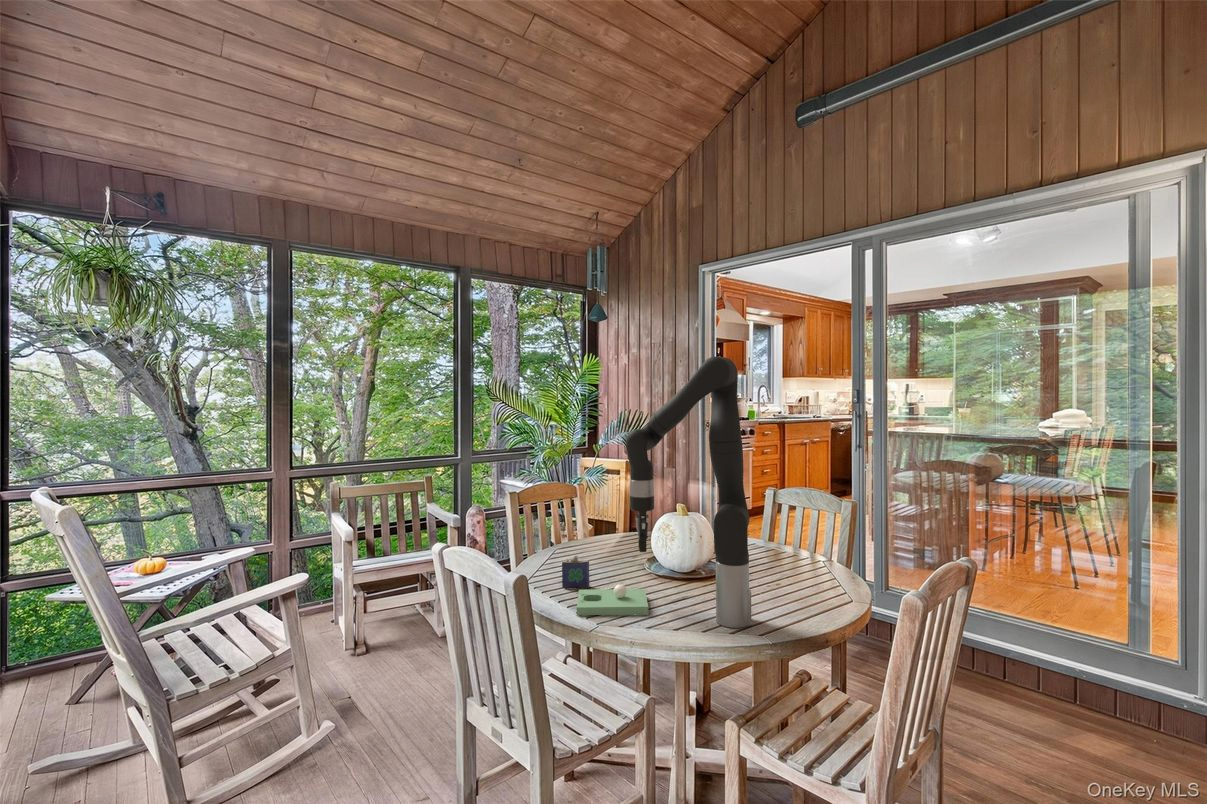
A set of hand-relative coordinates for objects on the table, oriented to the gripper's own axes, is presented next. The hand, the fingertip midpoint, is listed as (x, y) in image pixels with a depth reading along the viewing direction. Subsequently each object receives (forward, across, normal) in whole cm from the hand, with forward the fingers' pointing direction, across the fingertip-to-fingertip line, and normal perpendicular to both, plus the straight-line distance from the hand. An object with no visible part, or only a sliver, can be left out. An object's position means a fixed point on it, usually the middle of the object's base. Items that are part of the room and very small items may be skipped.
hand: (642, 550), depth 172 cm
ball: (+13, 0, +7) cm, 14 cm away
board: (+17, 0, +10) cm, 20 cm away
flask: (+17, +17, +22) cm, 32 cm away
